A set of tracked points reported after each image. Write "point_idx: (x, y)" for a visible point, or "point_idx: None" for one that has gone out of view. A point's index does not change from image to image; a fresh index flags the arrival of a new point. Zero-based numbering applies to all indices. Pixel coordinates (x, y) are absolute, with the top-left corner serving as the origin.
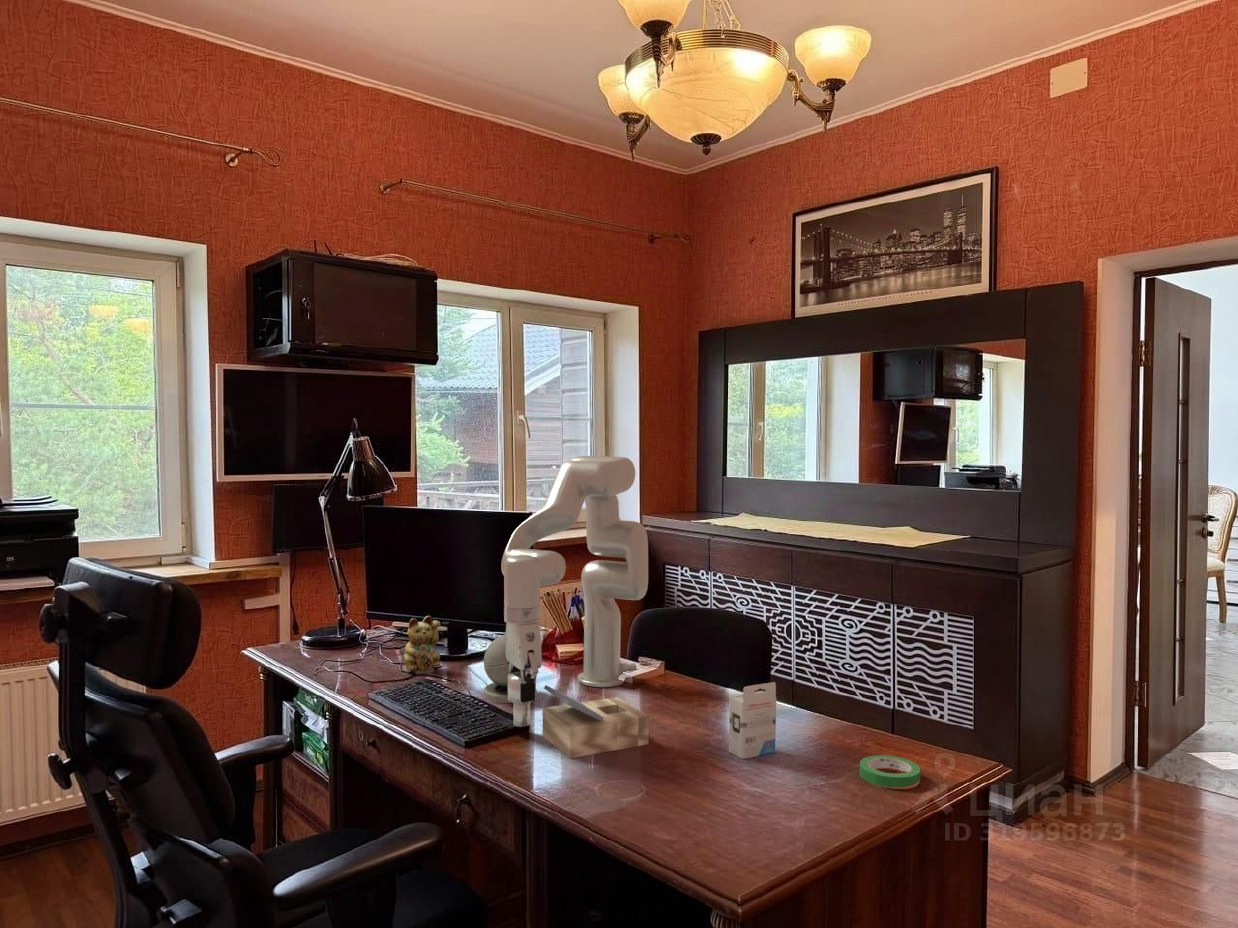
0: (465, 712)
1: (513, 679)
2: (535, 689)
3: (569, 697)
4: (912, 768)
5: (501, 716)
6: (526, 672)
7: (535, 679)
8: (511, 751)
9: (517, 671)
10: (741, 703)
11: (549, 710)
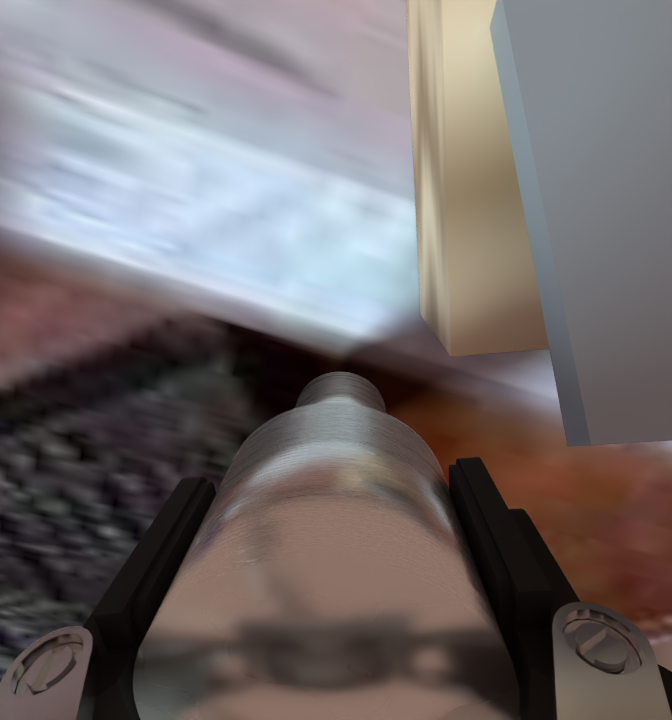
0: (17, 537)
1: None
2: (409, 468)
3: (663, 128)
4: None
5: (92, 417)
6: (197, 633)
7: (649, 658)
8: (548, 495)
9: (126, 707)
10: None
11: (529, 327)
